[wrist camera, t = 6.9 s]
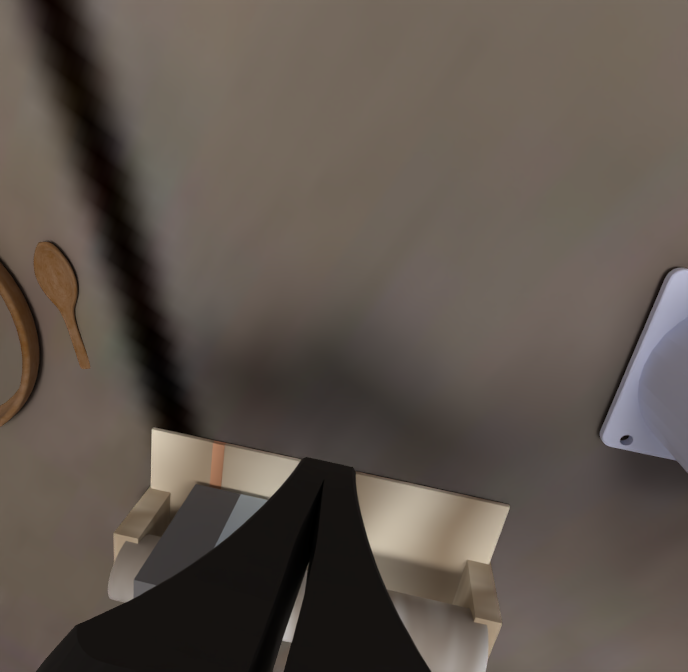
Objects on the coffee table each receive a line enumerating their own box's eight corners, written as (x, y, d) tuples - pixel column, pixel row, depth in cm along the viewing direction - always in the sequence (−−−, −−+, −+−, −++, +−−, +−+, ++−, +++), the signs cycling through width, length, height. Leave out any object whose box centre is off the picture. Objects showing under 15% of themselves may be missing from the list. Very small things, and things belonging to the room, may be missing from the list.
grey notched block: (240, 494, 25) (183, 609, 18) (231, 579, 27) (178, 708, 21) (195, 483, 25) (123, 594, 19) (190, 570, 27) (124, 694, 21)
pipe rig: (511, 505, 23) (536, 594, 19) (455, 657, 27) (464, 762, 23) (152, 426, 24) (90, 492, 20) (148, 584, 29) (97, 670, 24)
